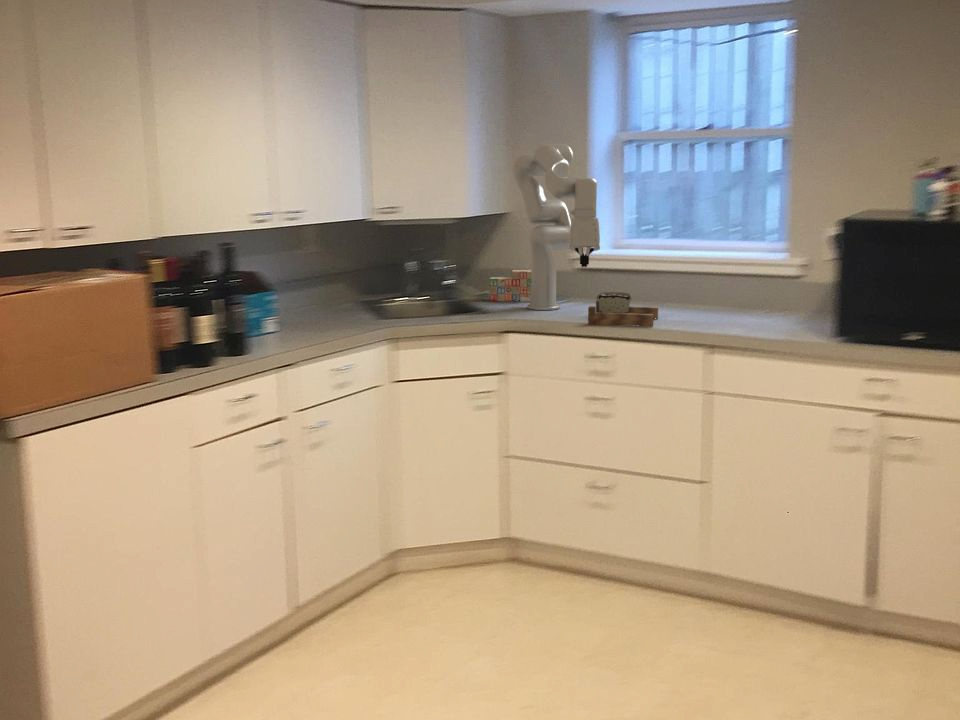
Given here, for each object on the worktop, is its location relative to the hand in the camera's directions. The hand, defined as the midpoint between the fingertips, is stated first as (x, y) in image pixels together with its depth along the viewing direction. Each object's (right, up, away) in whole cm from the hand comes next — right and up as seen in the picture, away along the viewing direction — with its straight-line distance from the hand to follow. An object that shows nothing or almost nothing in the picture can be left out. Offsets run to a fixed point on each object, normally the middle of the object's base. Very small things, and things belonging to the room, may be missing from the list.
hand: (584, 266), depth 350 cm
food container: (+11, -19, +1) cm, 22 cm away
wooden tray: (+14, -19, 0) cm, 24 cm away
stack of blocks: (-22, -9, +55) cm, 60 cm away
